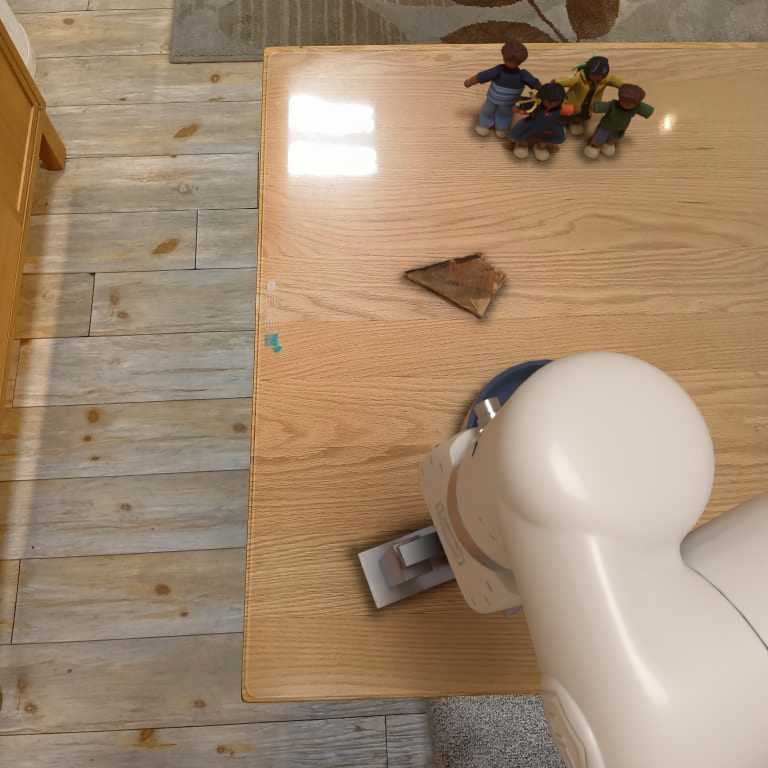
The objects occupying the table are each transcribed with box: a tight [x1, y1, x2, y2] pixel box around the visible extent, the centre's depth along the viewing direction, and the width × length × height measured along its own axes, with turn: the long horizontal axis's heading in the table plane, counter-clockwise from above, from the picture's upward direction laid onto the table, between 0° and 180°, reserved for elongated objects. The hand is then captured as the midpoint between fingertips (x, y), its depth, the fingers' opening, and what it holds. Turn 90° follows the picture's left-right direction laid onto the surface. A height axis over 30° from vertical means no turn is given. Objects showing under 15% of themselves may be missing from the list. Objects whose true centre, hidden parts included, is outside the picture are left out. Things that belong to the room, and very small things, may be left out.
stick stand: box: [356, 523, 456, 610], centre depth 64 cm, size 6×13×20 cm, turn 111°
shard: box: [404, 252, 508, 318], centre depth 84 cm, size 11×8×2 cm
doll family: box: [463, 39, 655, 162], centre depth 86 cm, size 23×9×13 cm, turn 99°
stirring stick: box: [397, 531, 445, 569], centre depth 49 cm, size 2×10×2 cm, turn 110°
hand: (460, 535), depth 51 cm, fingers closed on stirring stick, 1 cm apart
